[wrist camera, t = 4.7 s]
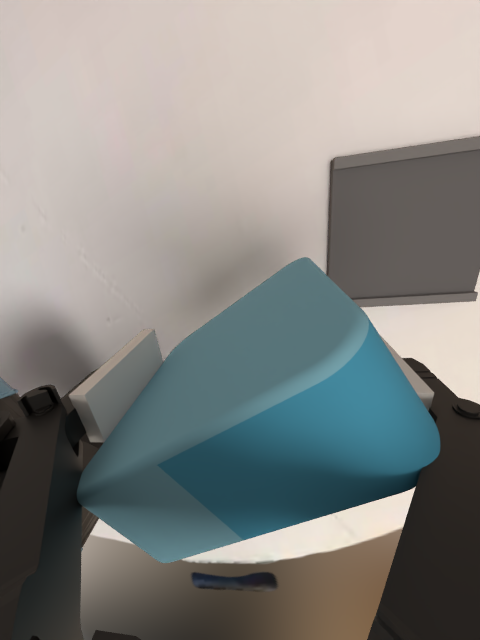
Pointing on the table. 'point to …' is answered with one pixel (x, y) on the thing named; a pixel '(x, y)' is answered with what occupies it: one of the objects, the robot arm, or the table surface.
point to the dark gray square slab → (406, 224)
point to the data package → (262, 424)
